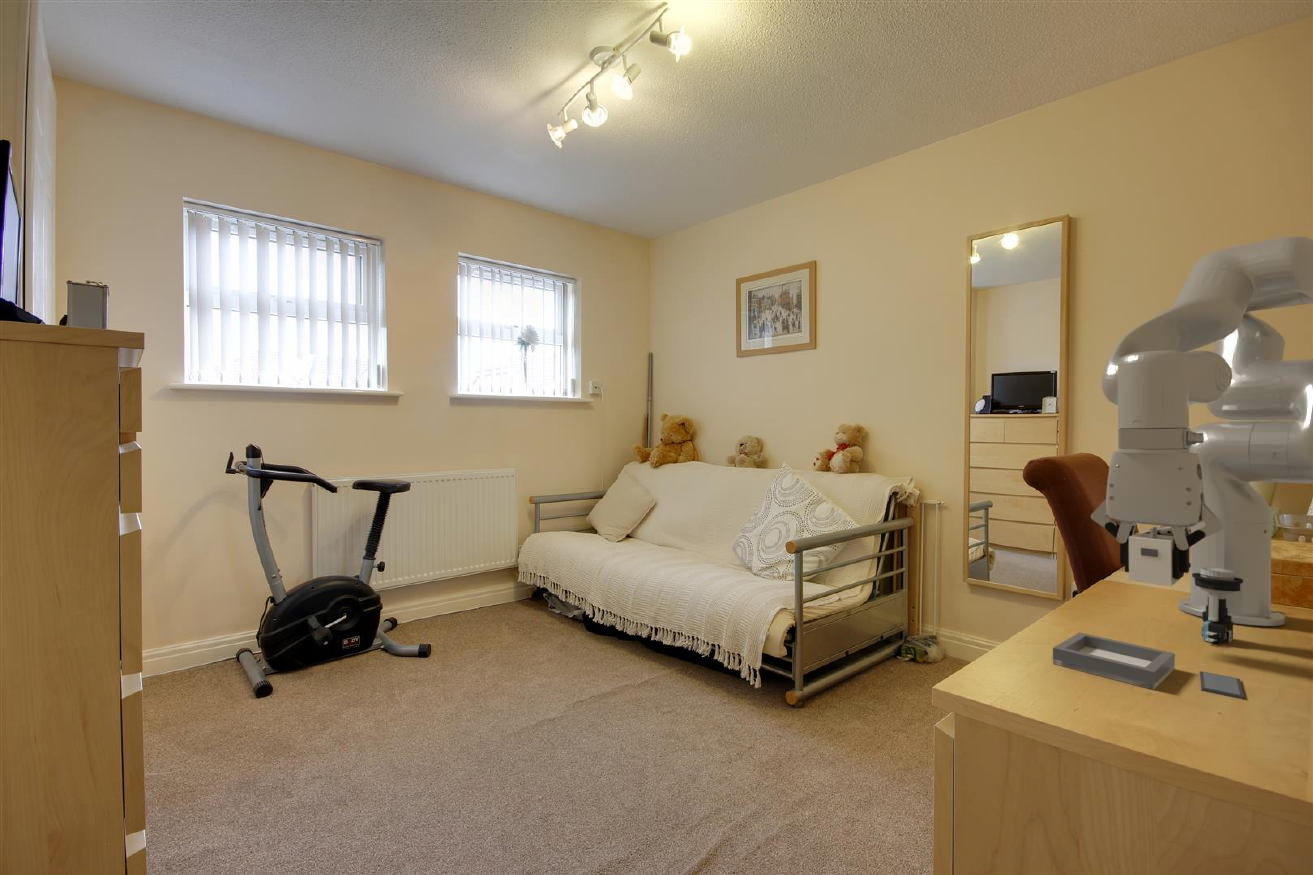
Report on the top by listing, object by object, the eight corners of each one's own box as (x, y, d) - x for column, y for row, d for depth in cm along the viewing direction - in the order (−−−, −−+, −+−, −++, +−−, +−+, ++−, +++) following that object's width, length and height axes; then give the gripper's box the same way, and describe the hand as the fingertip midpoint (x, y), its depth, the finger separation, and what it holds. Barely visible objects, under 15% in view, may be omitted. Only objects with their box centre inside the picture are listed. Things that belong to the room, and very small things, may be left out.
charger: (1137, 574, 86) (1137, 524, 86) (1178, 580, 83) (1178, 528, 82) (1128, 580, 83) (1128, 528, 83) (1170, 586, 80) (1170, 532, 80)
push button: (1233, 650, 81) (1233, 576, 81) (1182, 639, 86) (1183, 569, 86) (1247, 642, 85) (1248, 571, 85) (1198, 631, 90) (1199, 564, 90)
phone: (1199, 677, 73) (1199, 670, 73) (1239, 685, 71) (1239, 678, 71) (1201, 695, 68) (1201, 687, 68) (1244, 704, 66) (1244, 696, 66)
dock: (1079, 646, 82) (1079, 632, 82) (1174, 669, 74) (1174, 653, 74) (1052, 663, 76) (1053, 647, 76) (1153, 689, 68) (1153, 672, 68)
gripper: (1242, 441, 78) (1243, 580, 79) (1088, 440, 92) (1089, 560, 92) (1232, 443, 74) (1233, 591, 74) (1071, 442, 87) (1073, 568, 87)
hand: (1153, 572), depth 83 cm, fingers closed on charger, 4 cm apart
